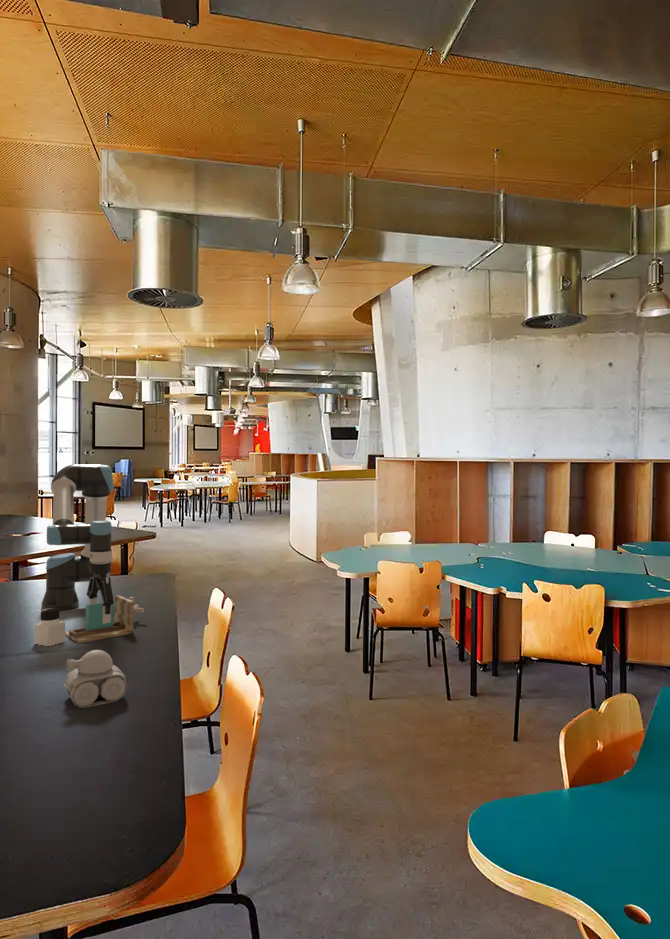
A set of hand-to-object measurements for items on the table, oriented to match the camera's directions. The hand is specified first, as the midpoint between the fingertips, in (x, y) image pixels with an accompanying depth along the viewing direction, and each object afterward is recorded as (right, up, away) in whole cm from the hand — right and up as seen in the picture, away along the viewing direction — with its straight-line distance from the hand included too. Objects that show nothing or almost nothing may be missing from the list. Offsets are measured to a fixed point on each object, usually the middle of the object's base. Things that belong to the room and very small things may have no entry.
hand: (99, 619), depth 217 cm
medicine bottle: (-13, -6, -12) cm, 18 cm away
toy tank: (+23, -6, -61) cm, 66 cm away
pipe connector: (+6, -6, +17) cm, 19 cm away
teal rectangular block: (0, -4, 0) cm, 4 cm away
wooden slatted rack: (0, -5, 0) cm, 5 cm away
